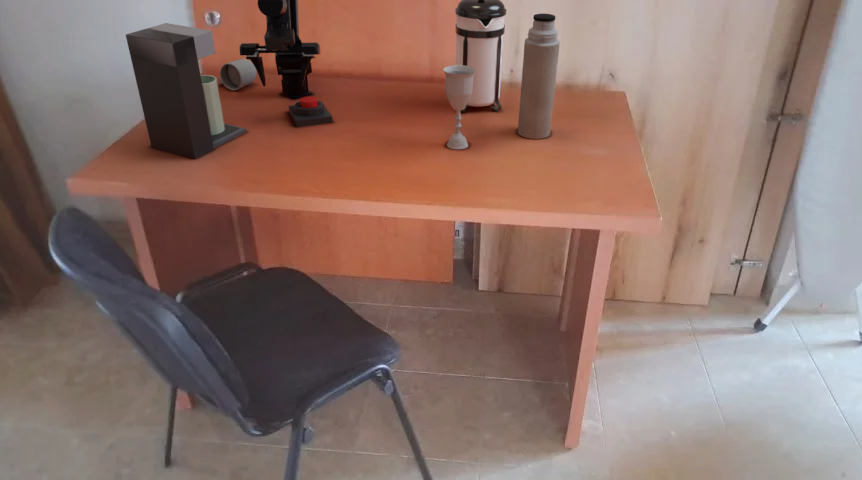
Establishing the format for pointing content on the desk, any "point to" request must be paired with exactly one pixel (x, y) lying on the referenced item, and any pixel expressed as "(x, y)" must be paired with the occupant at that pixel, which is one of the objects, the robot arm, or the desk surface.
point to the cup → (213, 104)
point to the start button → (308, 102)
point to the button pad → (310, 115)
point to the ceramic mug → (237, 74)
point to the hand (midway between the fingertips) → (283, 85)
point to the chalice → (458, 98)
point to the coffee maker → (175, 88)
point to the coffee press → (481, 47)
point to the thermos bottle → (538, 78)
